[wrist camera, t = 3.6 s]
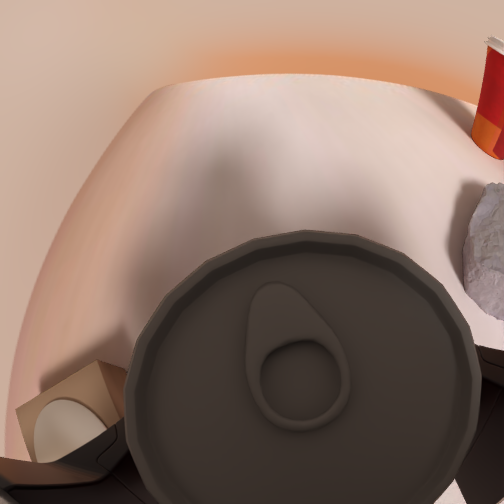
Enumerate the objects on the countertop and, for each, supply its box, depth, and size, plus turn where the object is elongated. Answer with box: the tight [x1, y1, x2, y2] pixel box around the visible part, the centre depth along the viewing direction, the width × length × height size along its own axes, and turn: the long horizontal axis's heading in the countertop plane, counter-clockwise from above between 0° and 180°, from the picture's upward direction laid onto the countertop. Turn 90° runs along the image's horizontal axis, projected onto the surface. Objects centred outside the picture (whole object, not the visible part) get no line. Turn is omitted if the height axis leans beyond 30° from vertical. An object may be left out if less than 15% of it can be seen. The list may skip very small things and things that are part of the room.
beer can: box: [123, 230, 482, 504], centre depth 8 cm, size 7×7×12 cm
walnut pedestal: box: [15, 360, 127, 463], centre depth 11 cm, size 10×10×3 cm
